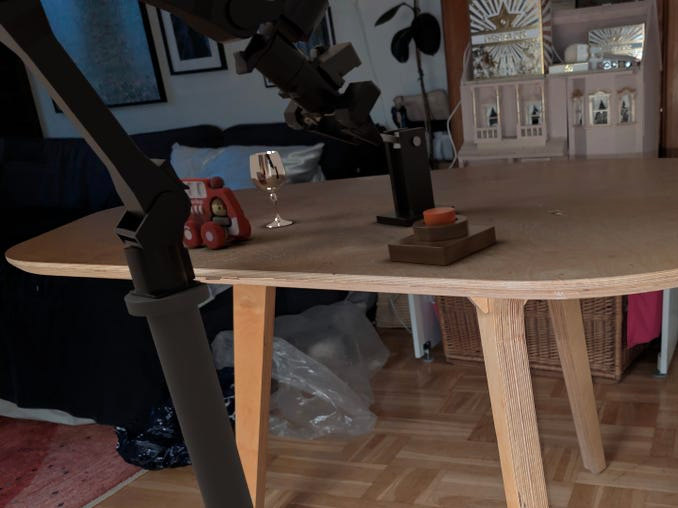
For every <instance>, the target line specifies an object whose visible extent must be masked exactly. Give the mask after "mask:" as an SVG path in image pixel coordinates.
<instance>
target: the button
mask: <svg viewBox="0 0 678 508" xmlns="http://www.w3.org/2000/svg"><path fill="white" fill-rule="evenodd" d="M454 208H455V207H454ZM454 208H451V207H441V208H434V209H429V210H426V211H424V212H423V215H424V222H425V225H442V224H447V223H452V222H455V221H456V216H455V215H456V209H454Z"/></svg>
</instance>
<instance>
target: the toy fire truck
mask: <svg viewBox="0 0 678 508" xmlns="http://www.w3.org/2000/svg"><path fill="white" fill-rule="evenodd" d="M179 179H180V180H181V181H182V182H183V183H184V184H186V185H187V186H189V187H190V189H189V190H185V191H186V192H187V194H188V196H189V197H190V199H191V203H192V207H191V214H190V216H189V219H188V221H187V222H186V223H185V226H184V238H183V244H185V246H187V247H188V248H191V249H193V248H194V249H195V248H197V247H200V246H202V245H203V244H205V246H206V247H208V248H209V249H211V250H217V249H219V248H222V247H224V246H225V245H226V241H227V240H230V239H231V240H232V239H235V240H237V241H244V240H247V239H249V238H250V237H251V235H252V226H251V223H250V220H249V219H248V218H247V217H246V216H245V211H244V210H243V207H242V206H241V204H240V203H239V201H238V199H237V197H236V196H235V194H234V192H233V190H232V189H231V188H230V187H228V186H226V183H225V180H224V178H223V177H222V176H219V175H215V176H213V177H212V178H210V177H185V178H179Z"/></svg>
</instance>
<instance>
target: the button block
mask: <svg viewBox="0 0 678 508" xmlns="http://www.w3.org/2000/svg"><path fill="white" fill-rule="evenodd" d="M455 216H456V221H455V222H452V223H447V224H442V225H425V222H424V219H422V220H419V221H416V222H415V223H414V224H413V225H412V232H413V233H412V234H410V235H408V236H405V237H402V238H400V239H397V240H395V241H392V242H389V243H387V249H388V255H389V260H390V261H391V262H401V263H410V264H411V263H412V264H413V263H414V264H424V265H425V264H426V265H436V266H437V265H438V266H447V265H450V264H452V263H454V262H456V261H459V260H461V259H463V258H466V257H468V256H470V255H472V254H473V253H476V252H479V251H480V250H483V249H485V248H487V247H490V246H491V245H494V244H496V243H497V236H496V226H495V225H477V224H476V225H475V224H474V225H473V224H470V223H469V218H468V216H465V215H462V214H455Z"/></svg>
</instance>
